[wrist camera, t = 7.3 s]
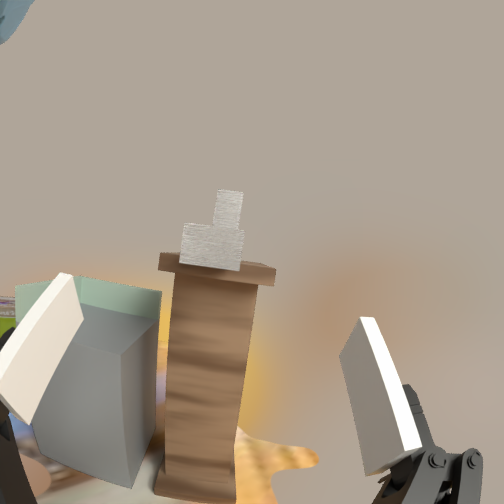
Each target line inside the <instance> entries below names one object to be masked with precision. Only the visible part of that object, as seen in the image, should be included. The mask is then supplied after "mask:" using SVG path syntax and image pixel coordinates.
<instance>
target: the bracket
mask: <svg viewBox="0 0 504 504" xmlns="http://www.w3.org/2000/svg"><path fill="white" fill-rule="evenodd" d="M242 200H243V193H242V192H235V191H228V190H221V189H218V194H217V200H216V206H215V213H214V220H213V226H207V225H199V224H192V223H185V225H184V231H183V238H182V244H181V252H180V259H179V263H184V264H191V265H198V266H205V267H212V268H219V269H226V270H233V271H239V269H240V262H241V255H242V248H243V240H244V233H245V231H243V230H238V227H239V220H240V213H241V206H242Z"/></svg>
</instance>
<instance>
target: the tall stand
mask: <svg viewBox="0 0 504 504" xmlns="http://www.w3.org/2000/svg"><path fill="white" fill-rule="evenodd" d="M179 259H180V253H160V259H159V266H158V270H161V271H168V272H173V273H175V279H174V289H173V297H172V308H171V318H170V329H169V342H168V357H167V375H166V400H165V452H164V456H163V459H162V462H161V466H160V469H159V472H158V476H157V479H156V483H155V486H154V494H155V495H159V496H164V497H169V498H174V499H180V500H187V501H193V502H201V503H210V504H235V503H236V484H235V464H234V442H235V436H236V430H237V423H238V417H239V409H240V404H241V397H242V391H243V384H244V378H245V371H246V365H247V358H248V351H249V345H250V338H251V331H252V324H253V317H254V310H255V304H256V297H257V289H258V285H266V286H274V281H275V275H276V269H275V268H272V267H269V266H266V265H264V264H261V263H254V262H247V261H241V262H240V269H239V271H233V270H226V269H219V268H212V267H205V266H198V265H191V264H184V263H179Z"/></svg>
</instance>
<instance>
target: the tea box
mask: <svg viewBox="0 0 504 504" xmlns="http://www.w3.org/2000/svg"><path fill="white" fill-rule="evenodd" d="M11 327H14V328H16V314H15V297H3V296H0V338H1V336H2V335H3V334H4V333H5V332H6V331H7V330H9V329H10V328H11Z"/></svg>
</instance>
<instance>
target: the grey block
mask: <svg viewBox="0 0 504 504" xmlns="http://www.w3.org/2000/svg"><path fill="white" fill-rule="evenodd" d="M80 307H81V311H82V314H83V318H84V320H83V321H82V323H81V325H80V326H79V328H78V330H77V331H76V333H75V335H74V337H73V338H72V340H71V342H70V344H69V345H68V347H67V349H66V351H65V353H64V354H63V356H62V358H61V360H60V362H59V364H58V366H57V368H56V369H55V371H54V373H53V375H52V377H51V379H50V381H49V383H48V385H47V387H46V389H45V391H44V394H43V396H42V398H41V400H40V402H39V404H38V406H37V409H36V411H35V413H34V415H33V418H32V420H31V423H32V427H33V430H34V434H35V437H36V440H37V444H38V447H39V450H40V453H41V454H43V455H45V456H47V457H49V458H51V459H53V460H55V461H57V462H59V463H61V464H64V465H66V466H68V467H70V468H73V469H75V470H78V471H80V472H83V473H85V474H88V475H90V476H93V477H96V478H99V479H101V480H104V481H107V482H110V483H114V484H117V485H120V486H123V487H127V488H130V489H132V487H133V484H134V481H135V479H136V476H137V473H138V471H139V468H140V466H141V463H142V461H143V458H144V455H145V453H146V450H147V448H148V445H149V443H150V440H151V438H152V435H153V433H154V430H155V428H156V369H157V348H158V332H159V319H160V318H159V319H152V318H147V317H142V316H137V315H132V314H127V313H122V312H117V311H113V310H108V309H104V308H100V307H95V306H91V305H87V304H83V303H80ZM19 324H20V323H19V322H17V321H16V328H17V326H18V325H19Z"/></svg>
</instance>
